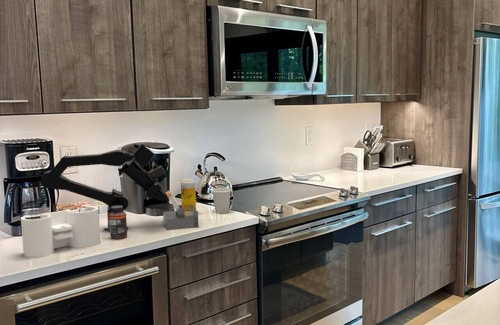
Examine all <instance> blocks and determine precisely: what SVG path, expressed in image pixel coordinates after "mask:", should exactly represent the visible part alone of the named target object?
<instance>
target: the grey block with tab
mask: <svg viewBox="0 0 500 325" xmlns="http://www.w3.org/2000/svg"><path fill="white" fill-rule="evenodd" d="M178 206H179V209H178V213H177V211H176V210H169V211H162V213H163V223H164V226H165V229H166V230H167V231H170V230H180V229H181V230H182V229H191V228H193V229H194V228H195V229H196V228H199V211H198V210H197V208H196V209H195V207H194V206H193V205H189V210H184V208H182V204H178Z"/></svg>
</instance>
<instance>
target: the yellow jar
mask: <svg viewBox="0 0 500 325" xmlns="http://www.w3.org/2000/svg"><path fill="white" fill-rule="evenodd" d="M180 195H181V196H180V197H181V198H180V202H181V205H182V208H184V210H189V205H193V206H194V207H195V209H196V210H197V197H196V195H197V194H196V181H195V179H193V178H183V179H181V182H180Z"/></svg>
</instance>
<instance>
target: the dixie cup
mask: <svg viewBox="0 0 500 325" xmlns="http://www.w3.org/2000/svg"><path fill="white" fill-rule="evenodd" d="M231 191H232V189H231V188H227V187H219V188H217V187H216V188H212V190H211V192H212V197H213V199H212V200H213V205H214V212H215V214H219V215H224V214H229V210H230V200H231Z"/></svg>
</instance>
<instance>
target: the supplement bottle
mask: <svg viewBox="0 0 500 325" xmlns="http://www.w3.org/2000/svg"><path fill="white" fill-rule="evenodd" d="M127 221H128V220H127V213H126V212H125V210H124V211H123V206H120V205H118V206H112V207H111V213H110V214H109V224H110V231H109V234H110V238H111V239H114V240H121V239H125V238H127V236H128V229H127V227H128V222H127Z"/></svg>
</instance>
